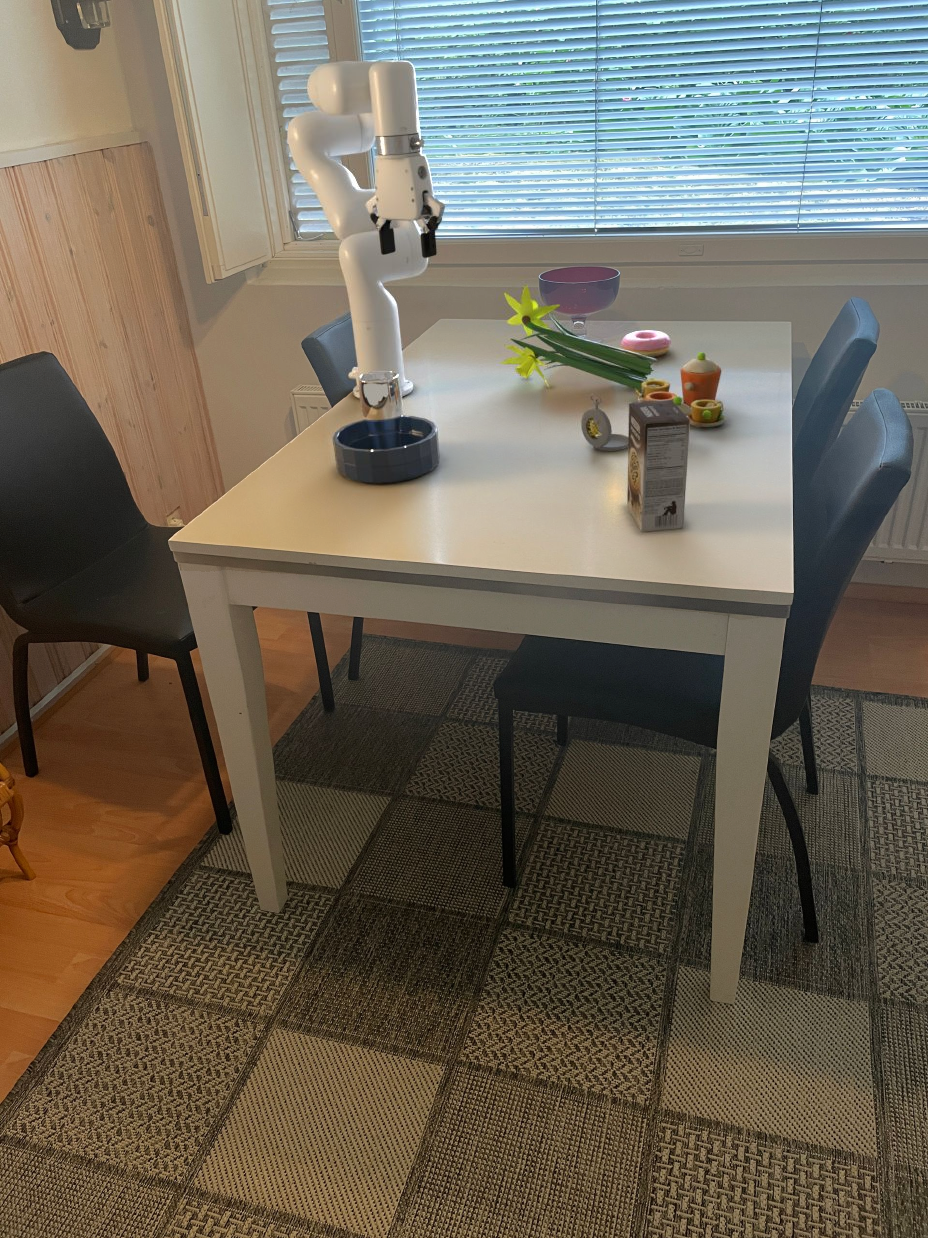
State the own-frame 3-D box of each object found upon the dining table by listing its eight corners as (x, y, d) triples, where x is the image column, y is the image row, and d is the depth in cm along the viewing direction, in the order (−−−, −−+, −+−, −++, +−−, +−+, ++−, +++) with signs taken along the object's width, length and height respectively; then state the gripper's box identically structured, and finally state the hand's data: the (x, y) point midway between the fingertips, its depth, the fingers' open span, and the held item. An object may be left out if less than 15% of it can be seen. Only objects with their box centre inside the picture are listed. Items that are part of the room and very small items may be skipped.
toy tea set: (633, 396, 185) (634, 347, 180) (714, 392, 184) (717, 343, 179) (645, 443, 163) (647, 388, 158) (737, 439, 161) (741, 384, 156)
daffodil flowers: (632, 408, 182) (469, 352, 190) (637, 424, 196) (485, 371, 204) (665, 325, 180) (499, 271, 188) (668, 346, 194) (514, 296, 202)
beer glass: (402, 470, 158) (393, 382, 150) (363, 469, 160) (351, 382, 152) (412, 455, 164) (404, 369, 156) (374, 454, 165) (364, 369, 158)
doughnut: (615, 358, 209) (615, 339, 207) (627, 345, 217) (628, 326, 215) (664, 360, 205) (665, 341, 203) (675, 346, 213) (675, 328, 211)
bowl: (316, 473, 161) (311, 439, 158) (385, 441, 173) (382, 409, 170) (392, 493, 151) (387, 458, 148) (460, 458, 163) (457, 424, 160)
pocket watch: (633, 440, 164) (634, 383, 159) (624, 457, 158) (625, 399, 153) (587, 437, 167) (587, 382, 162) (576, 454, 160) (576, 397, 155)
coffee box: (625, 507, 141) (627, 401, 132) (667, 502, 141) (672, 397, 133) (640, 533, 133) (643, 422, 125) (685, 528, 133) (691, 418, 125)
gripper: (452, 143, 155) (460, 253, 163) (376, 144, 164) (387, 248, 173) (423, 148, 150) (432, 261, 159) (346, 149, 160) (358, 255, 168)
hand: (408, 254), depth 166 cm, fingers open, 9 cm apart
